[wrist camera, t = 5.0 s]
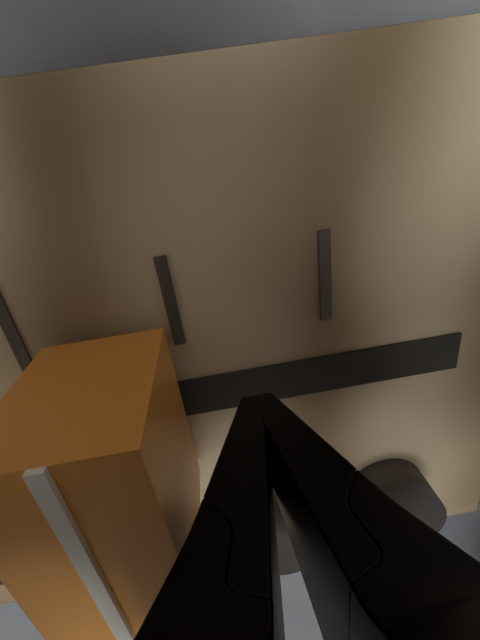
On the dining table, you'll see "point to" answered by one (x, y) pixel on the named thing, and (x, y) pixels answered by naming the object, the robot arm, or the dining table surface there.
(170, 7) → the dining table surface
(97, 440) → the fader cap
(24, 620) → the dining table surface
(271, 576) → the robot arm
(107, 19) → the dining table surface
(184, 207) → the console panel
